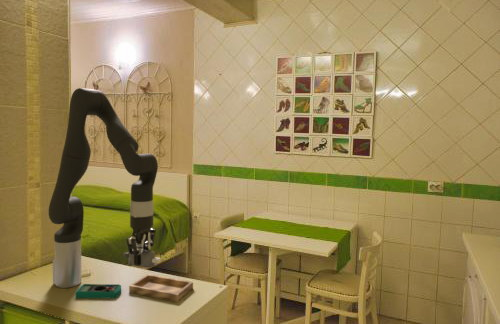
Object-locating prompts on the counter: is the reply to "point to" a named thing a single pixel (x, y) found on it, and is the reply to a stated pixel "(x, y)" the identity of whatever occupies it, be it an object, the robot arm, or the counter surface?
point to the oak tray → (161, 287)
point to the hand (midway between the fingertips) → (141, 262)
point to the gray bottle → (143, 258)
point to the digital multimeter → (98, 291)
